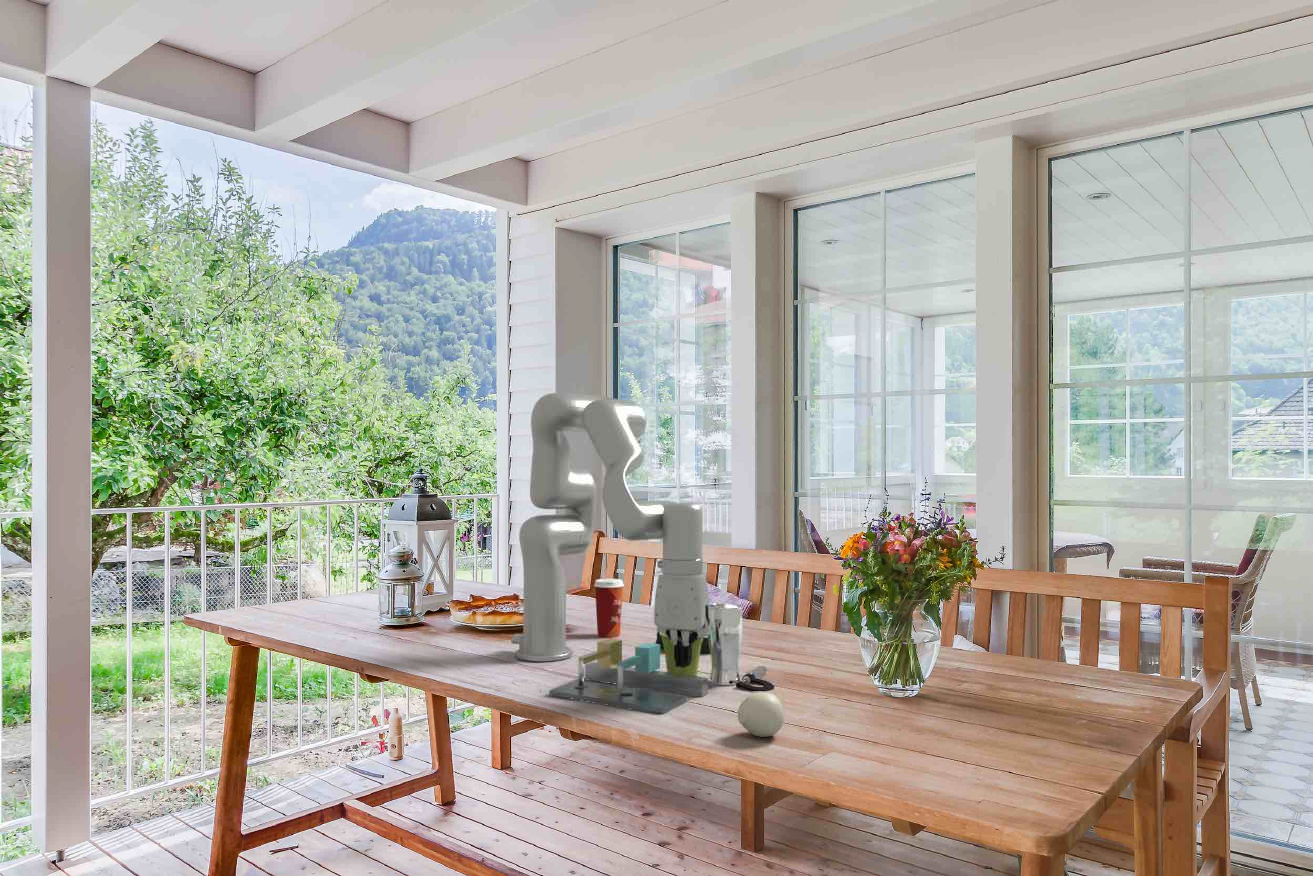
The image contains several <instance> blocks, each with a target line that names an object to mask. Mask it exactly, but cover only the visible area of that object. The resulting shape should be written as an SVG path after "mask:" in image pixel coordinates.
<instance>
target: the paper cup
mask: <svg viewBox="0 0 1313 876" xmlns="http://www.w3.org/2000/svg"><path fill="white" fill-rule="evenodd" d="M594 583H595V584H594V585H593V586H594V589H595V590H594V593H595V594H594V595H595V608H596V609H595V611H596V627H597V628H596V629H597V637H598V636H599V638H602V637H605V638H604V639H613V638H612V637H615V638H619V637H620V636H619V635H621V628H622V627H621V624H622V609H623V607H622V606H623V592H624V586H625V584H624V583H623V580H622V579H620V578H600V579H599V578H598V579H596V580H595V581H594ZM618 636H619V637H618Z"/></svg>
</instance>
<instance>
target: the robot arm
mask: <svg viewBox="0 0 1313 876" xmlns="http://www.w3.org/2000/svg"><path fill="white" fill-rule="evenodd" d="M646 416H647V415H646V414H645V412H644V410H643V408H642V407H641V405H639V404H638V403H637V402H634V401H632V400H624V399H619V398H614V397H609V396H604V395H603V396H602V395H596V394H595V395H594V394H584V393H583V394H582V393H574V392H551V393H547V394H545V395H542V396H540V398H539V399H538V400H537V401H536V402H535V404H534V406H533V409H532V411H531V417H530V428H531V437H532V455H531V456H532V457H531V466H530V467H531V469H530V479H529V480H530V483H529V497H530V502H531V503H532V504H533V506H534V507H536V508H538V509H542V510H564V511H565V514H557V513H556V514H555V513H554V514H540V515H535V516H532V517H529V518H528V519H526V520H525V521H524V522H523V523H522V525H521V526H520V528H519V529H520V530H519V534H518V537H519V539H518V540H519V546H520V551H521V552H520V553H521V556H522V566H523V567H522V569H523V602H522V603H523V604H522V605H523V613H522V614H523V615H522V616H523V622H522V623H523V624H522V631H523V633H521V634H520V633H514V635H513V637H512V638H511V640H510V643H511V644H515V645H518V646H519V647H518V648H519V649H517V650H516V651H515V658H518V659H519V660H522V661H529V662H554V661H555V662H557V661H561V660H565V659H568V658H571V657H572V656H573V653H574V652H573V649H572V648H571V647H568V646H566V643H567V642H566V641H567V640H566V639H567V638H566V637H567V636H566V634H567V630H566V629H567V626H566V625H567V624H566V623H567V622H566V621H567V617H566V616H567V578H566V577H567V576H566V572H565V569H564V567H563V565H562V563H561V562H560V559H559V557H565V556H566V557H567V556H576V555H581V554H584V553H585V552H587V551H588V550H589V548H590V547H591V545H592V542H593V538H594V529H595V517H596V506H597V485H596V481H595V479H594V476H593V475H592V473H590V471H588V470H587V469H585V468H582V467H571V463H570V462H571V446H570V444H569V441H568V438H567V436H566V435H565V433H564V432H573V433H575V432H576V433H587V435H588V437H589V439H590V441H591V443H592V445H593V447H594V450H595V451H596V453H597V455H598V458H599V459H600V461H601V463H602V465H603V467H604V470H605V473H604V476H603V480H602V481H603V482H602V487H601V488H602V490H601V492H602V493H601V494H602V495H601V497H602V503H603V507H604V510H605V512H606V514H607V516H608V519H609V520H610V522H611V525H612V526H613V528H614V529H615V531H616V532H617V534H618V535H619V536H621V537H622V538H623V539H625V540H628V541H632V542H636V541H651V540H662V559H661V560H658V561H657V564H656V565H657V567H658V569H659V568H661V571H662V574H659V575H658V579H657V583H656V589H655V597H654V611H653V621H654V625H655V626H656V632H657V631H658V632H660V633H663V634H666V635H667V636H668V637H669V639H670V640H671V643H672V644H673V645H674V660H675V666H676V667H681V668H684V667H687V666H689V665H690V664H691V661H692V644H693V643H694V642H695V641H696V640H697V639H698V638H700V637H706V636H708V635H709V634H710V631H709V627H708V626H709V625H710V603H711V602H710V593H709V586H708V581H707V576H706V575H703V574H704V573H703V572H704V571H703V570H704V569H703V565H704V564H703V510H702V507H701V505H699V504H697V503H694V502H672V501H669V500H643V501H642V500H641V501H635V499H634V497H633V496H632V494H631V491H630V490H629V488H628V485H627V482H626V477H627V476H629V475H631V474H632V473H634V472H635V471H636V470H637V469H638V468H639V467H640V466H641V465H642V464H643V462H644V457H645V453H644V451H643V449H642V447H641V446H640V443H639V442H638V440H637V439H638V438H640V437H641V436H642V435H643V434H644V433H645V431H646V428H647V417H646ZM682 630H683V631H684V634H683V631H682ZM698 630H699V631H698Z"/></svg>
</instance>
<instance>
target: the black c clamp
mask: <svg viewBox="0 0 1313 876" xmlns="http://www.w3.org/2000/svg"><path fill="white" fill-rule="evenodd" d="M745 673H746V674H744V675H743V676H742V677H741V680H740V681H739V682H738V683H736V685H735V687H736V689H743V690H746V691H748V692H753V691H763V692H770V691H773V690H775V685H774V684H773V683H772V682H770V681H767V680H765V679H761V678H762V677H764V676H765V675H766V673H767V667H765V666H763V665H762V666H761V665H759V666H757V667H755V668H753V669H752V670H750V671H746V672H745ZM763 675H764V676H763ZM747 683H751V684H747ZM752 684H756V685H758V684H759V685H758V686H755V685H752ZM762 685H763V686H762Z"/></svg>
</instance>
